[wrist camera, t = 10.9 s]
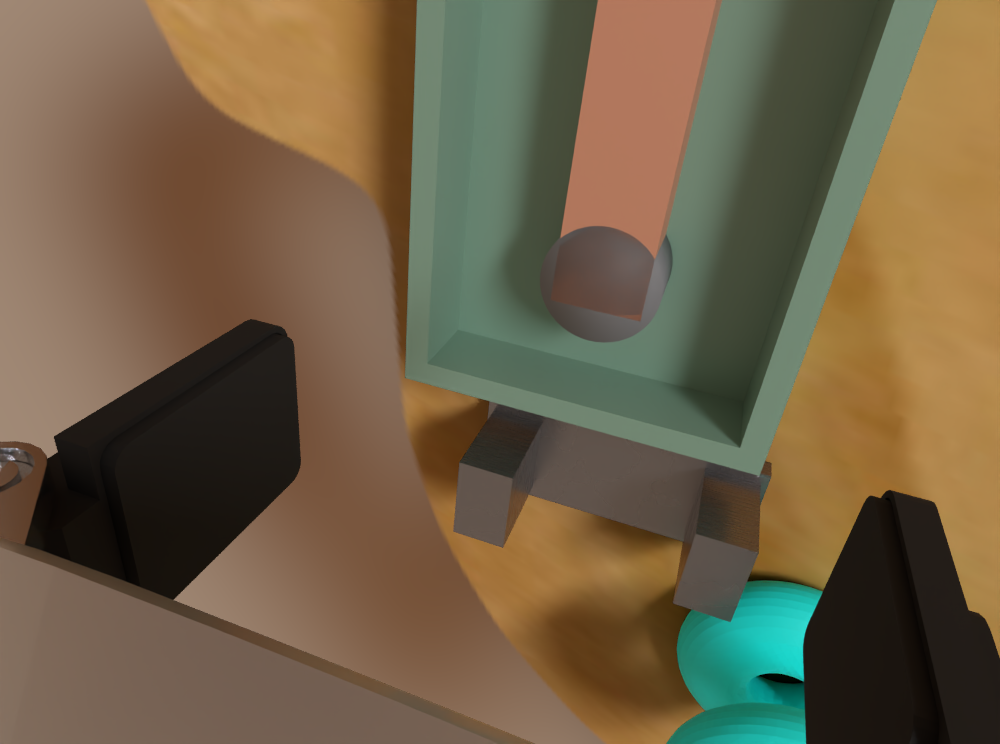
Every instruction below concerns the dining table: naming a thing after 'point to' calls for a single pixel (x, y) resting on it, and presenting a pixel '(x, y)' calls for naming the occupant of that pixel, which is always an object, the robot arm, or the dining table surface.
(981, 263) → the dining table surface
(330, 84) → the dining table surface
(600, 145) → the strut
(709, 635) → the donuts
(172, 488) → the robot arm
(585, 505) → the bracket
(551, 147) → the tray
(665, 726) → the dining table surface
